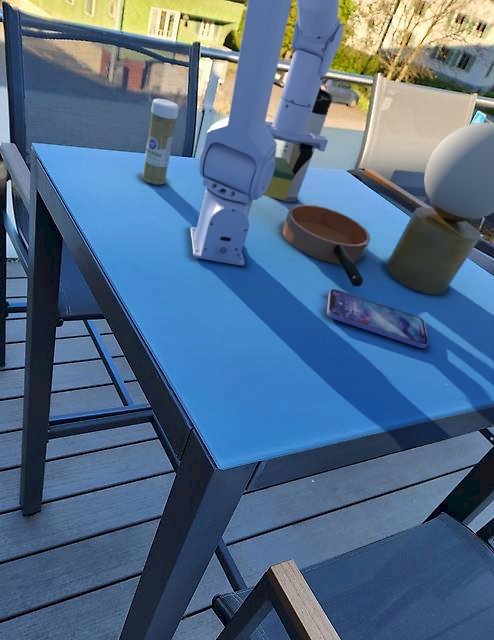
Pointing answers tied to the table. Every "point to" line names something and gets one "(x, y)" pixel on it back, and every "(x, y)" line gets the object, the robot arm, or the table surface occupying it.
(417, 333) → the smartphone
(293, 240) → the pan
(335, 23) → the robot arm
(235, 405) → the table surface
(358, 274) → the pan handle
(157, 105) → the sprinkles bottle
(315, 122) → the travel mug
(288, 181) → the sponge
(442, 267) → the lamp
